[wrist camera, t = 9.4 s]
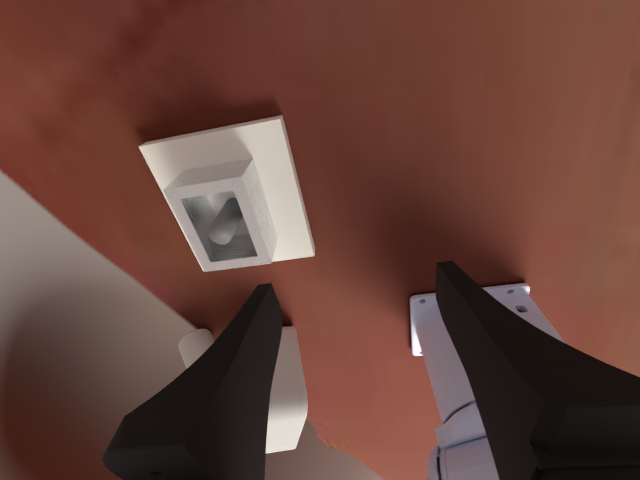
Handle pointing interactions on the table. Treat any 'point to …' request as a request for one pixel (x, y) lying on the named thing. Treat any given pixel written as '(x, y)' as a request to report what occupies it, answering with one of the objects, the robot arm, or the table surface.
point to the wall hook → (285, 389)
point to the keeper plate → (227, 146)
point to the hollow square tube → (198, 216)
